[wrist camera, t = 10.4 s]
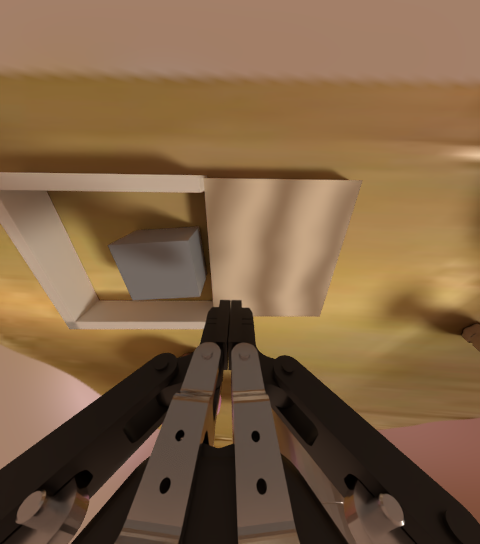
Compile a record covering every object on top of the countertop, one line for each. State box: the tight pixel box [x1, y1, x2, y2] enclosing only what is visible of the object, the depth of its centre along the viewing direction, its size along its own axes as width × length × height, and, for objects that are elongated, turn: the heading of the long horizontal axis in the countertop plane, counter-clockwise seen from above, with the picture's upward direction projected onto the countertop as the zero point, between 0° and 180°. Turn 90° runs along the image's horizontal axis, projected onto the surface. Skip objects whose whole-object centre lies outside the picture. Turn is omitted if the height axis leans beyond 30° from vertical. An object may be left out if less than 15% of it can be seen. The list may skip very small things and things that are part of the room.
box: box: [0, 172, 214, 329], centre depth 19 cm, size 17×16×4 cm
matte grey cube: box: [108, 226, 207, 300], centre depth 18 cm, size 7×6×5 cm
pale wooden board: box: [204, 178, 362, 316], centre depth 20 cm, size 14×16×2 cm
